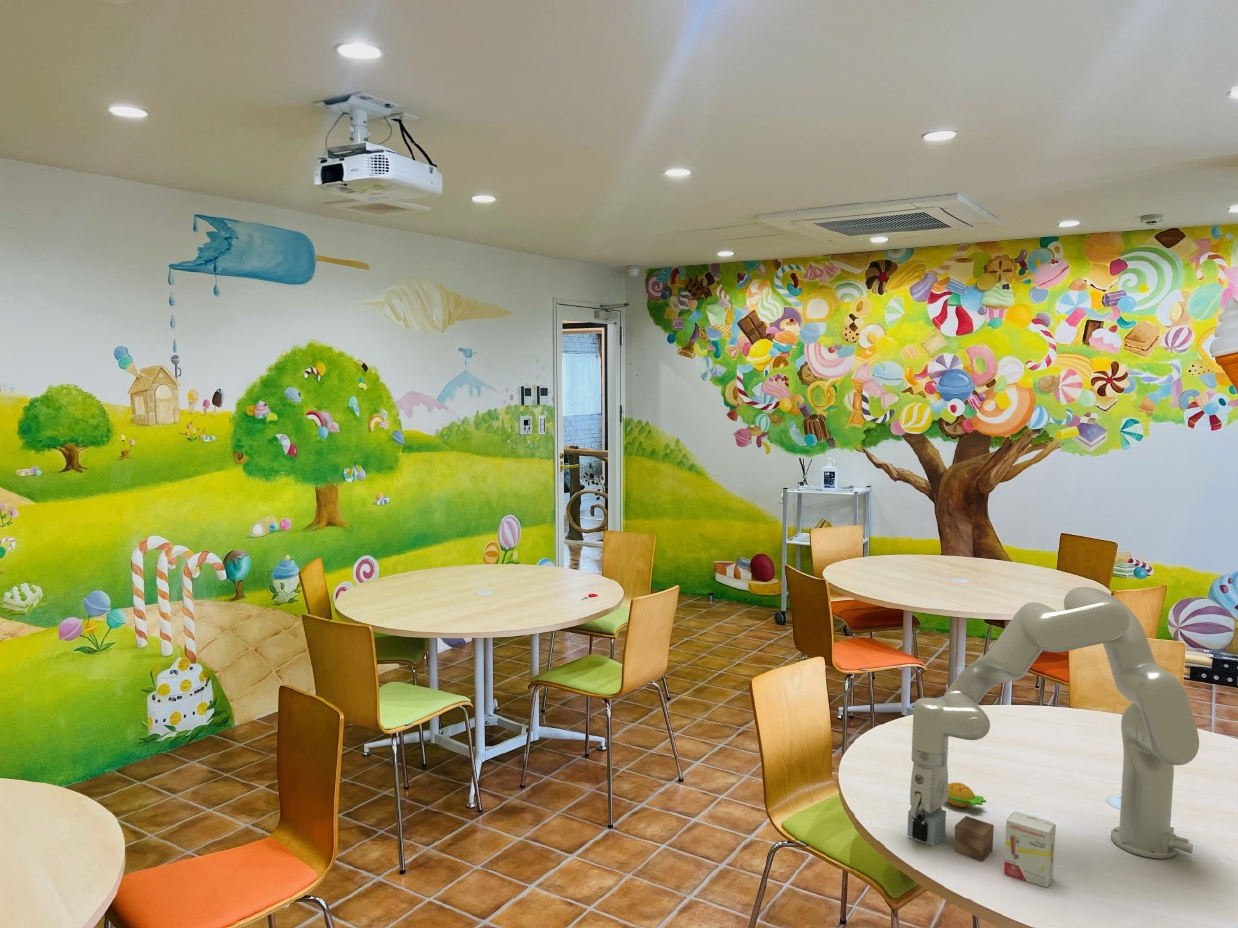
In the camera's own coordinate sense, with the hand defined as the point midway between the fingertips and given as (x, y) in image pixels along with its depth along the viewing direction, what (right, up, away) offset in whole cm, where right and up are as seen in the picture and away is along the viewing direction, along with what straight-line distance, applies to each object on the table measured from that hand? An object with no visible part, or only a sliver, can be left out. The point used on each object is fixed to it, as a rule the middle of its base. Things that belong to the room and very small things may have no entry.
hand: (926, 832), depth 199 cm
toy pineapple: (+14, 0, +15) cm, 20 cm away
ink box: (+15, -3, -16) cm, 22 cm away
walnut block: (+8, -2, -6) cm, 10 cm away
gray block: (0, -1, 0) cm, 1 cm away
